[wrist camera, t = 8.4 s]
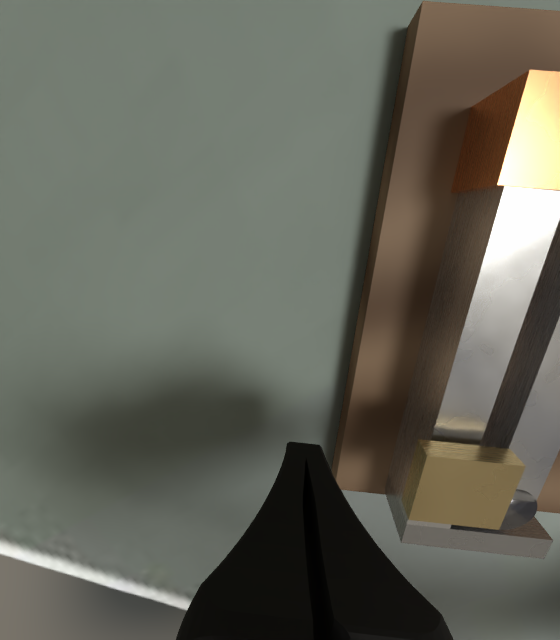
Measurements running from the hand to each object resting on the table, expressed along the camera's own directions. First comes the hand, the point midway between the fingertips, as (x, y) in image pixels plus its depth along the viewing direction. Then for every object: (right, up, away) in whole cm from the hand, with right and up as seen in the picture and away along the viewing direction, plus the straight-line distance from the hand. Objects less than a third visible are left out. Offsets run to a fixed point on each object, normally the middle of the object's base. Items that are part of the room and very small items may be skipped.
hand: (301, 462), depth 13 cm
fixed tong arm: (+9, +5, +2) cm, 10 cm away
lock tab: (+6, -1, 0) cm, 6 cm away
